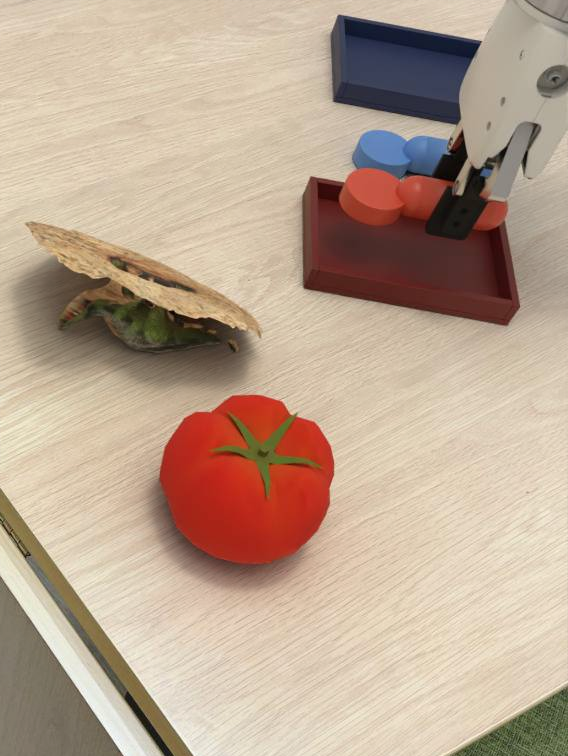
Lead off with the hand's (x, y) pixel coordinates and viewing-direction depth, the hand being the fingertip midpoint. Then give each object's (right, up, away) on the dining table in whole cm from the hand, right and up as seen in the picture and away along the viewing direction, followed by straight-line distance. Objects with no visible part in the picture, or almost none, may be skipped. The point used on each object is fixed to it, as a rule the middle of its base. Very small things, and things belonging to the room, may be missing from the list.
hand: (442, 217), depth 77 cm
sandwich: (-24, -8, -3) cm, 26 cm away
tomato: (-19, -23, -11) cm, 32 cm away
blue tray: (+5, +18, +18) cm, 26 cm away
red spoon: (-1, 0, 0) cm, 2 cm away
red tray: (-2, -2, +4) cm, 5 cm away
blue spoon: (+3, +7, +10) cm, 13 cm away
